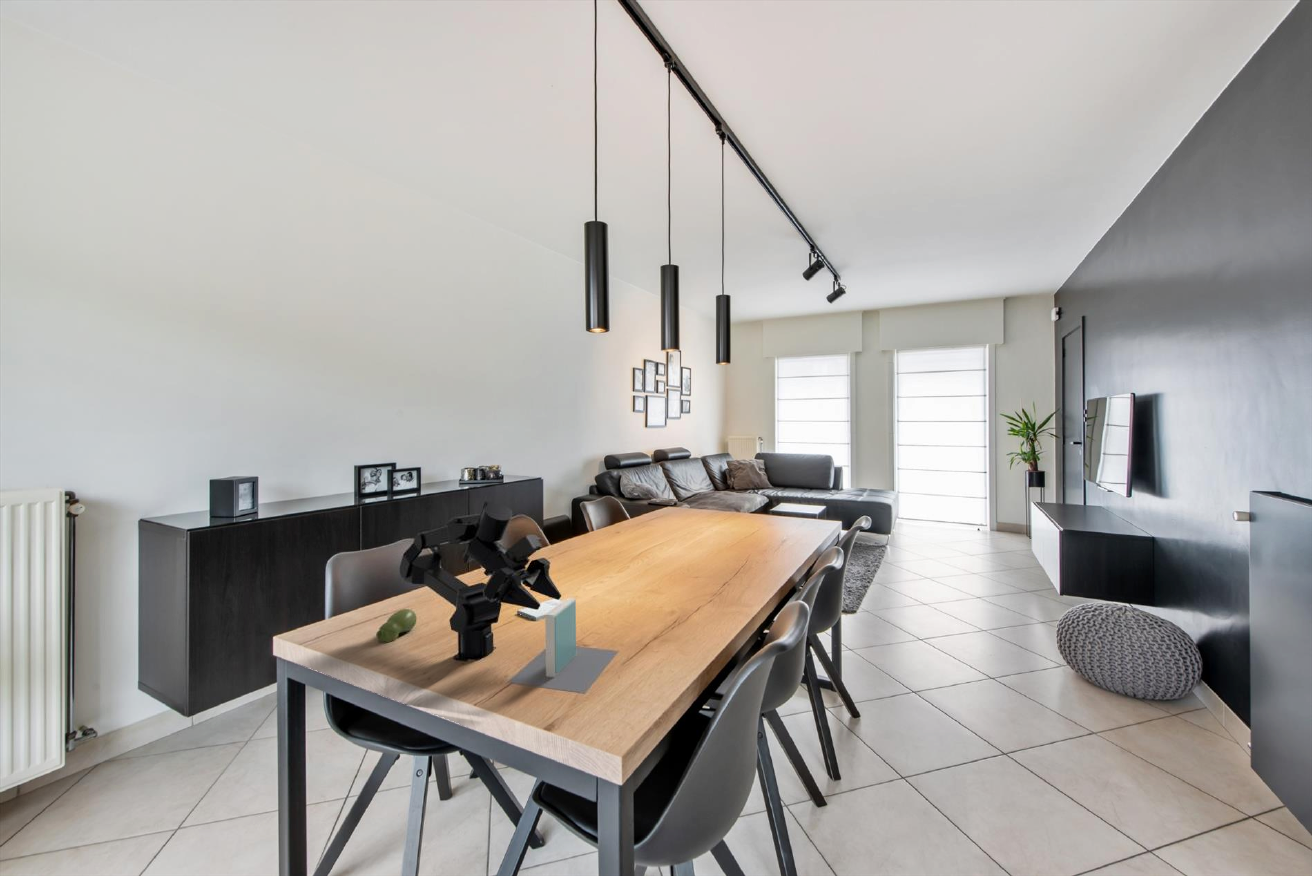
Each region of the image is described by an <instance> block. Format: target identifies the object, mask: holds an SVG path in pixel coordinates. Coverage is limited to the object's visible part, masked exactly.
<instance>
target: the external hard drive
mask: <svg viewBox="0 0 1312 876" xmlns="http://www.w3.org/2000/svg"><path fill="white" fill-rule="evenodd" d="M563 601H564V600H562V599H559V600H557V599H554V598H551V599H548V600H545V601H542V602H539V603H540V607H539V609H537V610H536V609H531V608H527V607H523V608H522V609H518V610H517V611H516V615H518V614H521V615H522V617H523V616H526V617H528V618H527V619H528V620H531V619H533V620H532V621H535V622H537V621H538V622H539V621H541V620H544V619H545V614H547V613H548V612H549V611H551V610H552V609H553V608H555V607H556V606H557V605H559V604H560V603H562V602H563ZM521 615H520V616H521ZM526 617H525V618H526ZM540 619H541V620H540Z"/></svg>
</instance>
